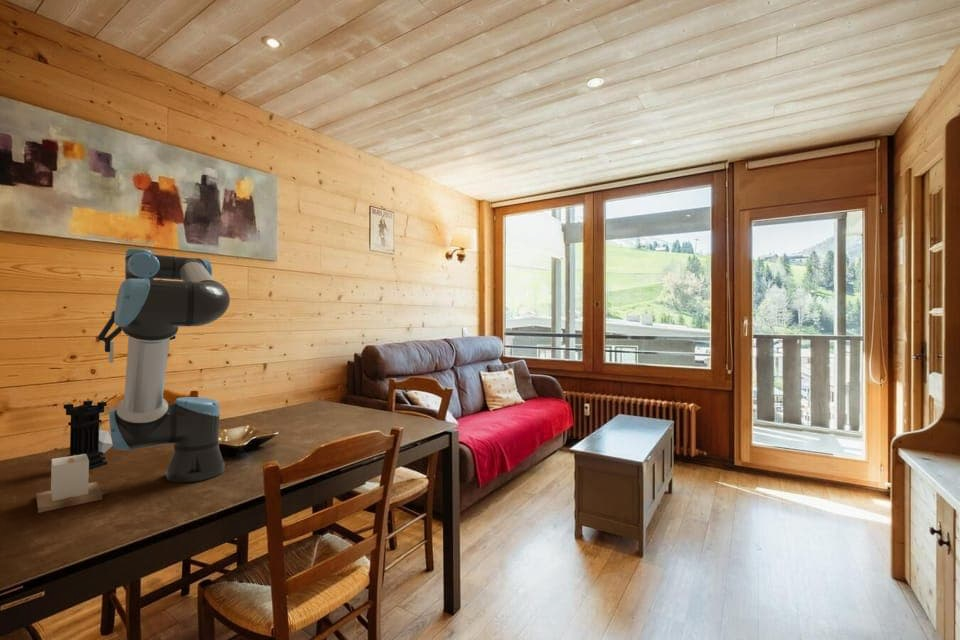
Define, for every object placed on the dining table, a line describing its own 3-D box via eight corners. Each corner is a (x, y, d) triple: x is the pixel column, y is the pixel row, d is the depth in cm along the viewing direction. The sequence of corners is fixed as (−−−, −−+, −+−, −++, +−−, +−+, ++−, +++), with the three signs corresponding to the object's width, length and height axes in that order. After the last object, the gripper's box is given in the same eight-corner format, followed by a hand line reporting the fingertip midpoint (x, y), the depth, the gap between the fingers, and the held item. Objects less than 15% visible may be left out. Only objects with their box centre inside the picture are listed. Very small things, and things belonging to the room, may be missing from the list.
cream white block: (85, 486, 122) (86, 451, 121) (88, 493, 117) (88, 458, 117) (50, 492, 117) (51, 457, 116) (52, 501, 112) (53, 463, 112)
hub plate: (96, 485, 125) (96, 480, 125) (102, 499, 117) (102, 493, 117) (36, 497, 116) (36, 492, 116) (38, 512, 108) (38, 507, 108)
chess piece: (80, 472, 134) (81, 406, 134) (59, 469, 136) (61, 404, 136) (107, 464, 142) (108, 401, 142) (87, 461, 144) (88, 400, 143)
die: (120, 453, 155) (111, 427, 157) (110, 447, 147) (102, 420, 150) (89, 465, 150) (81, 439, 153) (78, 460, 143) (70, 432, 146)
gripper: (180, 298, 157) (179, 358, 157) (87, 294, 139) (85, 362, 139) (186, 298, 152) (185, 360, 152) (90, 294, 134) (88, 364, 134)
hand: (137, 361), depth 146 cm, fingers open, 13 cm apart
